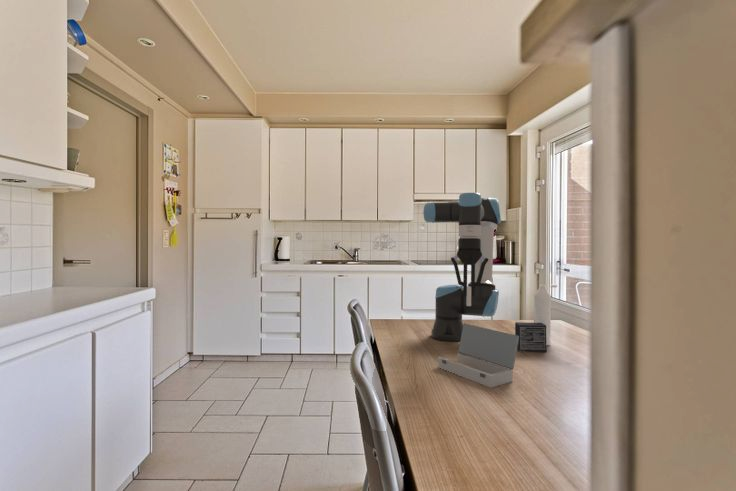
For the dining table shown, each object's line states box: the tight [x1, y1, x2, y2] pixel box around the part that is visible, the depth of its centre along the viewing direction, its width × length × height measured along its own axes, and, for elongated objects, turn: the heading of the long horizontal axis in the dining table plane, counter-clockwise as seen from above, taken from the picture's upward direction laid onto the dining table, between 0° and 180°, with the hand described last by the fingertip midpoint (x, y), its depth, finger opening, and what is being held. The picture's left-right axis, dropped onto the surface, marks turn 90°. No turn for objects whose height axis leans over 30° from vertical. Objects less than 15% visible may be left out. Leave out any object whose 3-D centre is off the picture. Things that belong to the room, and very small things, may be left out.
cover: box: [458, 322, 519, 371], centre depth 133 cm, size 22×10×1 cm
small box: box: [514, 321, 547, 353], centre depth 159 cm, size 11×6×10 cm, turn 84°
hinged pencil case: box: [437, 352, 514, 389], centre depth 129 cm, size 22×10×4 cm, turn 34°
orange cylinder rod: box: [447, 358, 473, 368], centre depth 132 cm, size 10×3×3 cm
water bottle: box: [533, 283, 558, 347], centre depth 168 cm, size 9×6×25 cm
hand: (468, 305), depth 140 cm, fingers closed
